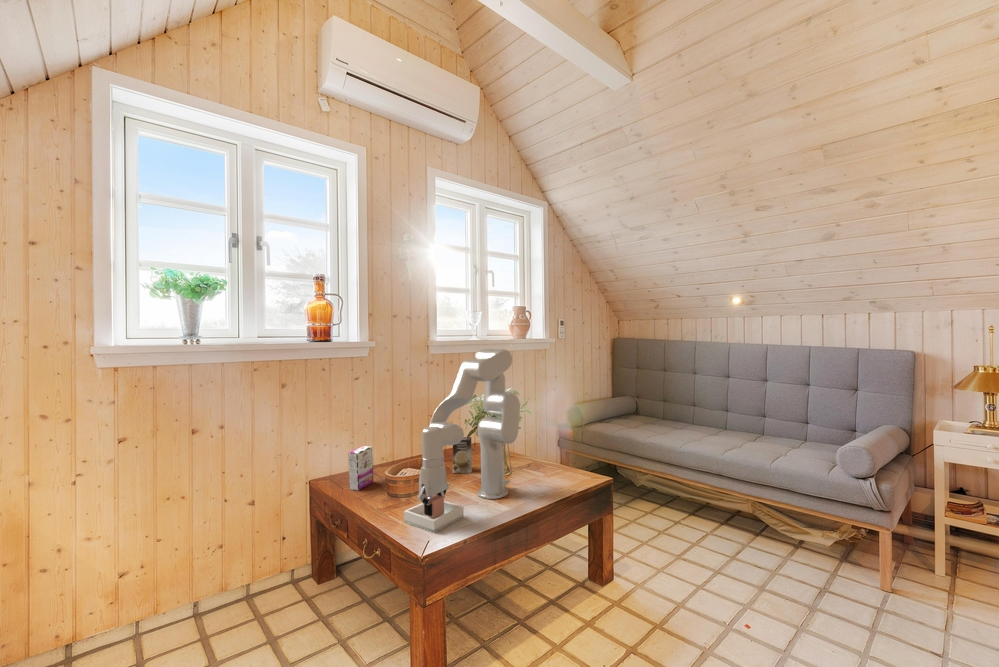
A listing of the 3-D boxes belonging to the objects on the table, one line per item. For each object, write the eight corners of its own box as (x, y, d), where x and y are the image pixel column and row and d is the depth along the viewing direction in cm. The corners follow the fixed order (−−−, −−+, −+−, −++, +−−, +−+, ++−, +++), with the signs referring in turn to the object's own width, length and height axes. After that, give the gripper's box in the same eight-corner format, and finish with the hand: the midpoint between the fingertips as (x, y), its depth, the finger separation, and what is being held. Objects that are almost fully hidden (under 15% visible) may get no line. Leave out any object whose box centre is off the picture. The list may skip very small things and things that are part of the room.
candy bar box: (364, 481, 204) (363, 445, 204) (373, 482, 202) (372, 446, 202) (348, 490, 193) (347, 452, 193) (358, 491, 191) (357, 452, 191)
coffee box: (452, 474, 212) (451, 440, 212) (453, 469, 218) (452, 437, 218) (471, 473, 212) (471, 439, 212) (472, 469, 219) (471, 436, 218)
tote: (434, 508, 171) (433, 497, 171) (463, 517, 162) (463, 506, 162) (404, 522, 159) (403, 511, 159) (434, 533, 150) (433, 521, 150)
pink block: (434, 510, 164) (433, 493, 164) (444, 513, 161) (443, 496, 161) (424, 514, 160) (423, 498, 160) (434, 518, 157) (433, 501, 157)
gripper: (442, 454, 170) (443, 502, 170) (407, 466, 156) (408, 518, 156) (456, 457, 165) (457, 506, 165) (422, 470, 152) (424, 523, 152)
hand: (434, 511), depth 161 cm, fingers closed on pink block, 5 cm apart
